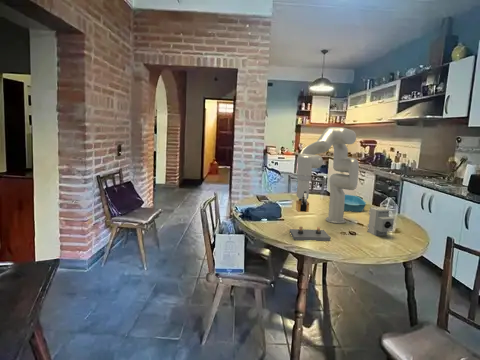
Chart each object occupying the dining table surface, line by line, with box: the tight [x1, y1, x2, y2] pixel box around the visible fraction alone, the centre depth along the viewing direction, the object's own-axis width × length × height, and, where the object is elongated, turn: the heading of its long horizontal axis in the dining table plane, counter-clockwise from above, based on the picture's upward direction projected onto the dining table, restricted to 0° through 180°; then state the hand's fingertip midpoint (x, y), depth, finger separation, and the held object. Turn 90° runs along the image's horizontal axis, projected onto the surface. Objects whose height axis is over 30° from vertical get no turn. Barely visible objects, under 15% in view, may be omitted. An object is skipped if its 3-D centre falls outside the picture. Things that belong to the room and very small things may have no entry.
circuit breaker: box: [366, 206, 395, 237], centre depth 202 cm, size 8×14×15 cm, turn 15°
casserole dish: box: [344, 193, 367, 213], centre depth 271 cm, size 37×22×7 cm, turn 174°
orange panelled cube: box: [295, 200, 310, 213], centre depth 193 cm, size 6×6×5 cm
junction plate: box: [289, 226, 331, 242], centre depth 196 cm, size 14×20×6 cm
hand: (302, 209), depth 193 cm, fingers closed on orange panelled cube, 6 cm apart
